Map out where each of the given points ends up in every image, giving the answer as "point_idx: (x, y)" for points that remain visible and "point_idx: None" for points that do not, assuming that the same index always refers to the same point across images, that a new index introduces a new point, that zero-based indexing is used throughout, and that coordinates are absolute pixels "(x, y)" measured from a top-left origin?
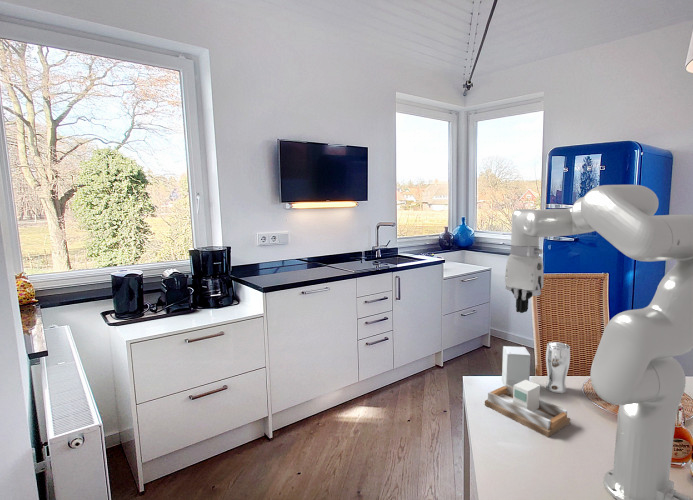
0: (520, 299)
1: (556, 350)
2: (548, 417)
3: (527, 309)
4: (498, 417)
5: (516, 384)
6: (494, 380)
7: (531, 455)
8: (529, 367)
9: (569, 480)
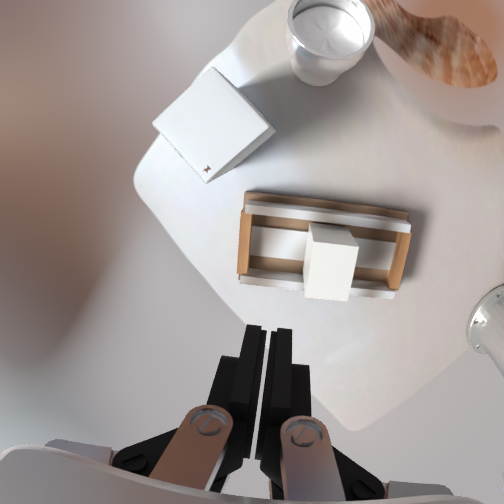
0: (250, 450)
1: (344, 61)
2: (377, 251)
3: (308, 367)
4: (288, 296)
5: (308, 288)
6: None
7: (379, 351)
8: (271, 130)
9: (431, 358)
